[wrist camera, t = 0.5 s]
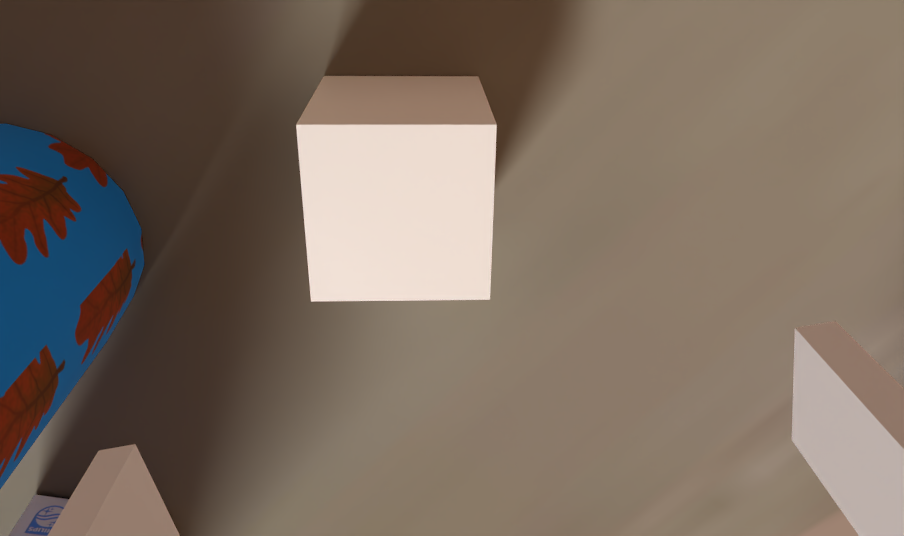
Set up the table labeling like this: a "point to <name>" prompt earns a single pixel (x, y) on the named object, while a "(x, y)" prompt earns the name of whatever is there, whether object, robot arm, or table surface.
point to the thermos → (56, 277)
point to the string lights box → (39, 516)
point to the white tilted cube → (398, 188)
